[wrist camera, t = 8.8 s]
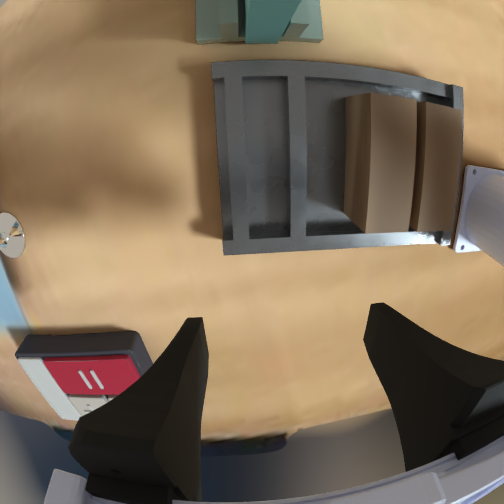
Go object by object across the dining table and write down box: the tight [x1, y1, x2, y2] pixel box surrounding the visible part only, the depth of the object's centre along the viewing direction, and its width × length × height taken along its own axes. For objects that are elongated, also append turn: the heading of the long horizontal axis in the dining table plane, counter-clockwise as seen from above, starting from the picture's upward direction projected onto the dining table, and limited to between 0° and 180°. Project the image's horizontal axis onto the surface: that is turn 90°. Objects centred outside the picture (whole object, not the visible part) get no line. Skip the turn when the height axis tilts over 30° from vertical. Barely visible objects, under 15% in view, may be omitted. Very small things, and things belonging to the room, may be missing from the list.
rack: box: [211, 60, 463, 255], centre depth 18 cm, size 17×12×3 cm
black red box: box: [15, 331, 153, 421], centre depth 26 cm, size 11×4×15 cm
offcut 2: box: [409, 102, 462, 232], centre depth 17 cm, size 3×8×4 cm, turn 2°
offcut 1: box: [343, 93, 417, 234], centre depth 17 cm, size 3×8×4 cm, turn 2°
